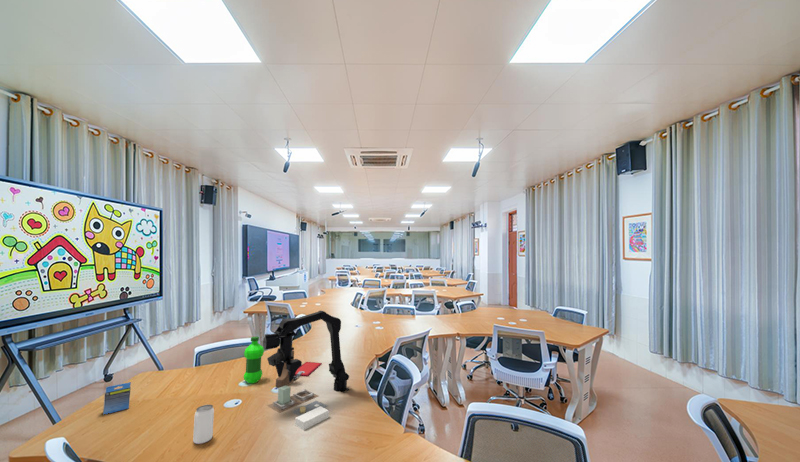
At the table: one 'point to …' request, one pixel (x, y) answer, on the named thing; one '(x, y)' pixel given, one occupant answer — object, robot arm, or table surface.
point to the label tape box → (116, 398)
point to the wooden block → (284, 376)
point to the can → (203, 424)
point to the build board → (294, 401)
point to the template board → (308, 408)
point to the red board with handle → (306, 369)
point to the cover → (311, 418)
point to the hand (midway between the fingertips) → (284, 379)
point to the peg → (284, 395)
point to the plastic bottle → (253, 361)
